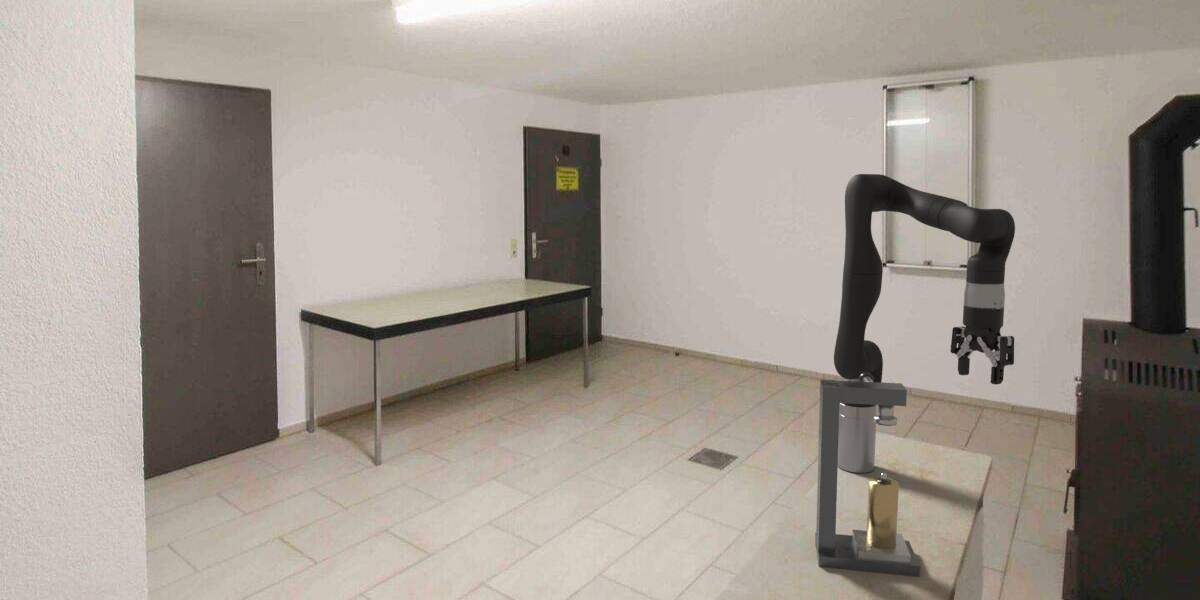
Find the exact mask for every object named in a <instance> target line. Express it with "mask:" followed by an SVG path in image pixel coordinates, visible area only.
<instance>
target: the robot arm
mask: <svg viewBox="0 0 1200 600" xmlns="http://www.w3.org/2000/svg"><path fill="white" fill-rule="evenodd" d="M878 212H879V213H880V212H895V213H901V214H904V215H908V216H910V217H912V218H913V220H914V219H915V220H916V221H918V222H919V223H922V224H923V225H926V226H929V227H932V228H935V229H938V230H940V231H945V232H949V233H951V234H952V235H955V236H956V237H958V238H960V239H962V240H965V241H967V242H971V243H975V244H980V245H979V248H978V251H977V253H975V254H972V255H971V256H970V257H969V258H968V260H967V264H966V279H965V281H966V282H965V287H964V293H963V294H964V295H963V312H962V325H964V326H954V327H952V329H951V330H952V333H951V341H950V353H951V354H955V356H956V358H958V359H957V372H958V375H960V376H969V374H970V362H971V361H970V360H971V359H970V356H971V355H972V354H973V352H975V351H976V352H980V353H983V354H985V357H986V358H988V359H989V361H990V363H991V365H992V366H991V370H990V371H991V372H990V384H992V385H1000V384H1002V382H1004V373H1005V367H1006V366H1007V367H1008V366H1012V365H1014V364H1015V337H1014V336H1013V335H1002V334H1001V328H1003V326H1004V320H1005V316H1004V315H1005V303H1006V302H1005V300H1006V290H1005V277H1006V276H1005V275H1006V262H1007V260H1008V257H1009V254H1010V252H1011V248H1012V245H1013V242H1014V238H1015V235H1016V234H1015V233H1016V224H1015V219H1014V217H1013V215H1012V214H1011V212H1009V211H1008V210H1006V209H1002V208H977V207H972V206H969V205H968V204H967V203H966V202H964V201H961V200H959V199H955V198H951V197H948V196H943V195H939V194H935V193H931V192H927V191H922V190H918V189H916V188H913V187H911V186H909V185H906V184H904V183H903V182H900V181H898V180H896V179H894V178H892V177H890V176H887V175H884V174H878V173H858V174H855V175H854V176H851V178H850V179H849V180H848V182H847V184H846V188H845V192H844V216H845V217H844V219H845V222H844V223H845V245H844V260H843V261H844V262H843V269H842V285H841V289H842V290H841V301H840V302H841V303H840V311H839V313H840V314H839V323H838V330H837V334H836V339H835V340H836V341H835V345H834V346H835V347H834V350H833V351H834V352H833V365H834V367H835V370H836V373H837V374H838V375H839V376H840V377H842V378H843V379H845V380H847V381H855V382H859V376H860V374H862V373H864V372H868V373H870V374H872V376H873V378H874V381H873V382H879V383H883V382H882V379H883V372H884V371H883V368H884V359H883V354H882V351H881V349H880V347H879V345H877V344H876V343H875V342H874V341H871V340H868V339H867V340H866V339H865V335H866V329H867V325H868V321H869V320H870V319H869V318H870V317H871V315H872V313H873V311H874V309H875V307H876V305H877V303H878V301H879V299H880V295H881V292H882V285H883V274H884V273H883V271H884V270H883V268H884V267H883V266H884V265H883V261H882V258H881V256H880V252H879V251H878V248H877V246H876V244H875V241H874V238H873V234H872V216H873V215H872V214H873V213H878ZM877 412H878V405H870V404H849V403H840V404H839V436H838V468H839V469H840V470H843V471H847V472H850V473H856V474H857V473H860V474H864V473H870V472H874V470H875V463H876V462H875V461H876V459H875V458H876V435H877V434H876V433H877V424H876V423H874V416H875V415H877Z"/></svg>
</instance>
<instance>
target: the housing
mask: <svg viewBox="0 0 1200 600" xmlns="http://www.w3.org/2000/svg"><path fill="white" fill-rule="evenodd" d="M899 486H900V483H899V481H897V480H896V479H893V478H890V477H888V474H887V473H886V472H881V473H880V476H874V477H873V476H872V477H870V478H869V479H868V496H867V520H866V531H867V542H868V544H870V545H872V546H874V547H877V548H881V549H891V548H894V547H895V546H896V534H898V533H897V532H898V531H897V529H898V509H899V490H900V489H899V488H900V487H899Z"/></svg>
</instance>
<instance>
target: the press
mask: <svg viewBox="0 0 1200 600" xmlns="http://www.w3.org/2000/svg"><path fill="white" fill-rule="evenodd" d="M873 381H874V378H873V376H872V374H870V373H868V372H864V373H862V374H860V376H859V382H855V381H848V380H838V379H820V384H819V413H818V414H819V416H818V417H819V419H818V449H817V450H818V455H817V487H816V488H817V490H816V493H817V494H816V524H815V525H816V529H815V531H816V532H815V533H814V535H815V537H814V543H815V550H816V554H817V555H816V556H817V562H818V563H817V564H818V567H822V568H833V569H841V570H850V571H859V572H861V571H862V572H872V573H880V574H890V575H891V574H892V575H900V576H902V575H903V576H910V577H920V574H921V573H920V572H921V571H920V570H921V566H920V564H919V561H918V559H917V556H916V554H915V552H914V549H913V547H912V545H911V543H910V541H909V540H905V539H904V537H903V534H902V533H897V534H896V546H895V547H894V548H891V549H881V548H877V547H874V546H872V545H870V544H868V542H867V530H861V529H852V534H851V535H850V534H837V533H836V530H837V529H836V528H837V501H838V500H837V499H838V492H837V491H838V468H839V467H838V436H839V404H840V403H849V404H870V405H877V412H876V415H875V416H874V423H876V425H879V426H885V427H893V426H896V425H898V417H896V416H895V407H896V406H897V407H907V399H908V398H907V395H908V394H907V393H908V390H907V389H906V387H905V386H904V384H903V383H902V382H900V383H899V382H881V383H879V382H873Z"/></svg>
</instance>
